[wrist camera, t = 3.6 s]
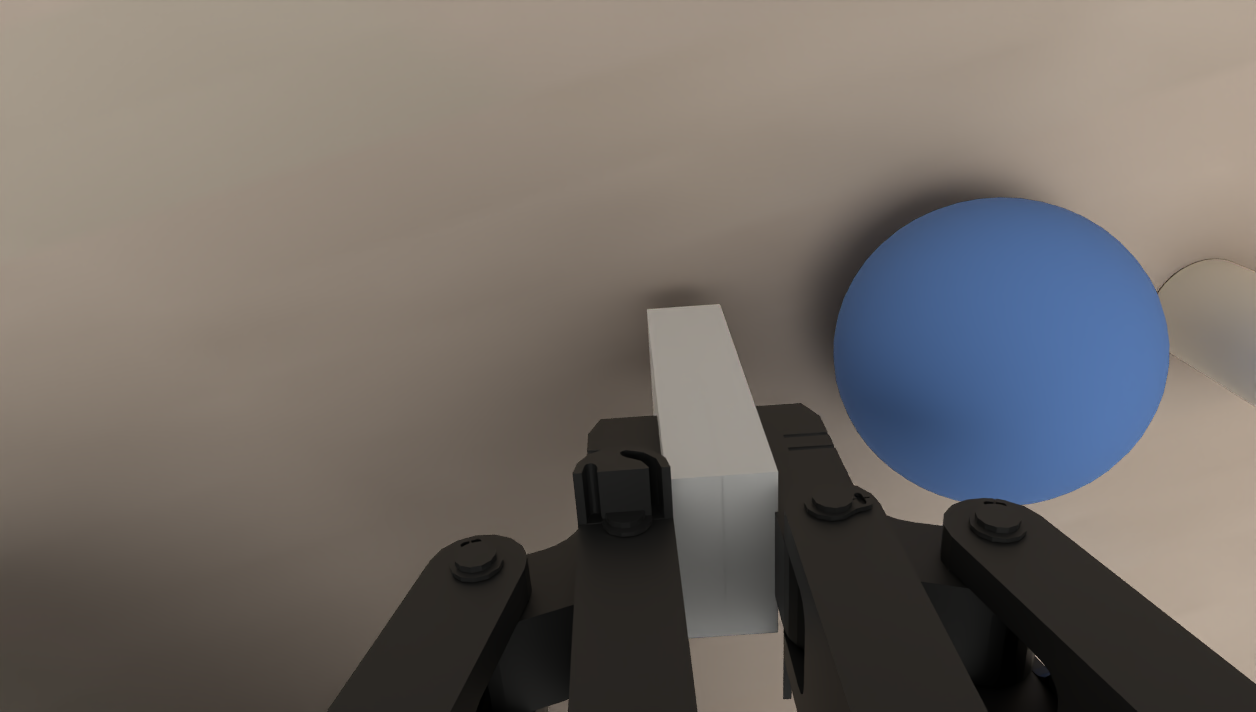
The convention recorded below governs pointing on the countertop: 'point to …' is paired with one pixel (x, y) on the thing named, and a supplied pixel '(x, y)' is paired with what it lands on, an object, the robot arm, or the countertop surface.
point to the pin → (1214, 322)
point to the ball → (1001, 351)
